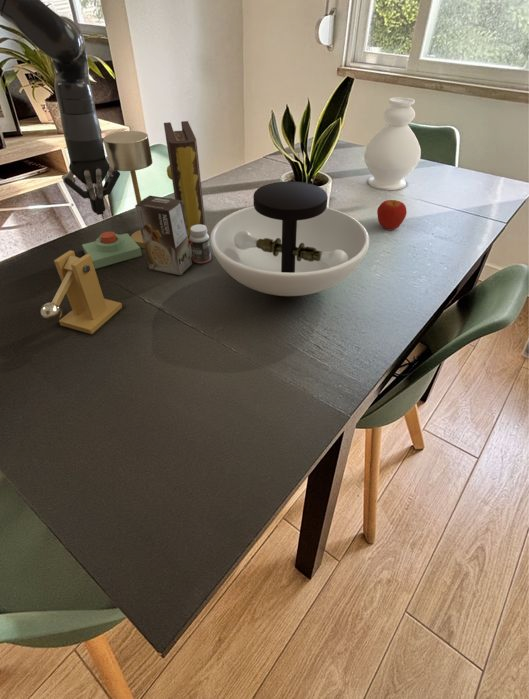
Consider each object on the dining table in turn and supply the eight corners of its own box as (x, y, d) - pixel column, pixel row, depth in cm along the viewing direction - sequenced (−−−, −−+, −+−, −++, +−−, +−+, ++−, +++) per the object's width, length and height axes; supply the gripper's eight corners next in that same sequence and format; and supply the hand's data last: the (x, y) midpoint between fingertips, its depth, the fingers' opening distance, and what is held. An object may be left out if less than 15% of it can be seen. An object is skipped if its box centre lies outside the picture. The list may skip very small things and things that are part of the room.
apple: (402, 222, 122) (407, 195, 117) (403, 234, 116) (410, 207, 111) (374, 220, 123) (379, 193, 118) (375, 232, 117) (379, 205, 112)
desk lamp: (135, 253, 110) (110, 145, 93) (123, 238, 116) (97, 135, 99) (171, 243, 114) (154, 138, 97) (157, 229, 120) (138, 128, 103)
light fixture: (221, 339, 84) (211, 239, 70) (210, 256, 108) (202, 171, 94) (382, 321, 87) (403, 224, 73) (336, 246, 112) (346, 162, 98)
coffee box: (193, 263, 106) (184, 199, 95) (180, 276, 101) (169, 211, 91) (161, 256, 108) (149, 194, 98) (147, 269, 104) (133, 205, 93)
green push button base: (95, 269, 104) (90, 254, 101) (84, 252, 110) (79, 238, 108) (142, 255, 109) (138, 241, 106) (129, 240, 115) (125, 226, 113)
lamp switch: (60, 326, 80) (47, 318, 76) (45, 322, 81) (32, 314, 77) (91, 266, 83) (80, 256, 80) (76, 262, 84) (65, 252, 81)
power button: (104, 245, 105) (102, 239, 104) (100, 240, 108) (98, 233, 107) (118, 242, 107) (117, 235, 106) (114, 236, 109) (112, 230, 108)
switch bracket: (91, 334, 85) (70, 274, 76) (60, 325, 87) (36, 266, 78) (122, 307, 92) (106, 249, 83) (92, 299, 94) (73, 242, 85)
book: (211, 241, 115) (202, 141, 98) (180, 245, 113) (164, 144, 97) (200, 208, 131) (190, 118, 114) (172, 211, 129) (158, 120, 113)
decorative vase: (423, 182, 146) (443, 99, 129) (396, 197, 136) (414, 109, 119) (378, 170, 155) (391, 91, 138) (350, 183, 145) (360, 100, 129)
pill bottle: (188, 260, 107) (183, 229, 101) (200, 252, 110) (197, 221, 104) (202, 265, 105) (199, 234, 99) (215, 257, 108) (212, 226, 102)
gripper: (108, 128, 96) (121, 203, 107) (46, 133, 91) (66, 212, 102) (119, 136, 92) (131, 214, 103) (54, 142, 86) (74, 224, 97)
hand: (99, 213), depth 102 cm, fingers closed
